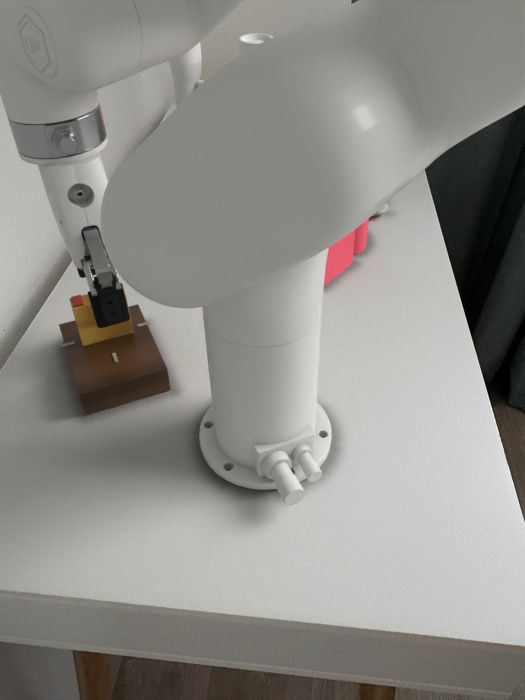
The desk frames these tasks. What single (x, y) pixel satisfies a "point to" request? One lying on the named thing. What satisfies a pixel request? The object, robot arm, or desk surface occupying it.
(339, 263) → the letters
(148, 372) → the plate
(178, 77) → the binoculars
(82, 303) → the handle
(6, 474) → the desk surface
